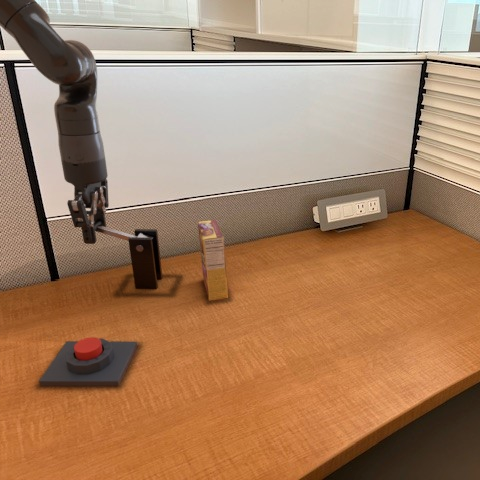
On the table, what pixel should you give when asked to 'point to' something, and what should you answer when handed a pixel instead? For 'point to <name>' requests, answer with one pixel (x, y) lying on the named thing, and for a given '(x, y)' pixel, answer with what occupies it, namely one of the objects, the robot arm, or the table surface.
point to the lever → (115, 231)
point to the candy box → (213, 259)
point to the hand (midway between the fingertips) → (95, 236)
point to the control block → (90, 366)
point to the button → (88, 349)
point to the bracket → (145, 259)
